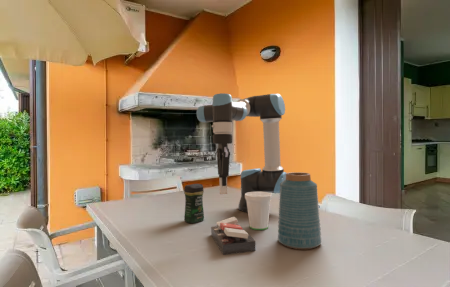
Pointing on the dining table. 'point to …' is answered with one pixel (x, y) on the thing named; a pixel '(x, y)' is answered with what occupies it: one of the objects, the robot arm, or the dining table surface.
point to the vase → (299, 212)
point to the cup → (258, 209)
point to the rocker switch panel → (232, 242)
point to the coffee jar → (194, 203)
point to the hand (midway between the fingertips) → (223, 193)
